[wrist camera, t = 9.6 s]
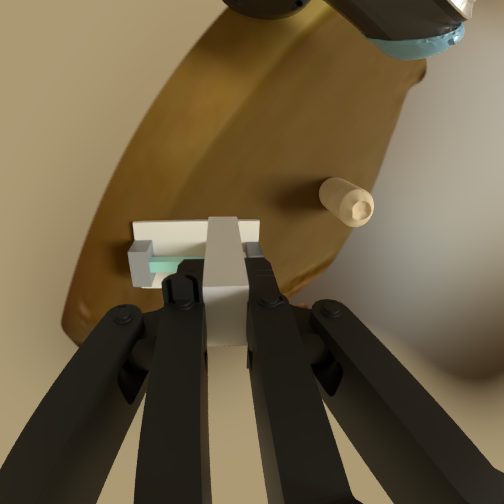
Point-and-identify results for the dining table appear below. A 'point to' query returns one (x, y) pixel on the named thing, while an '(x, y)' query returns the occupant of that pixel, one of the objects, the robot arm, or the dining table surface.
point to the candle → (346, 201)
